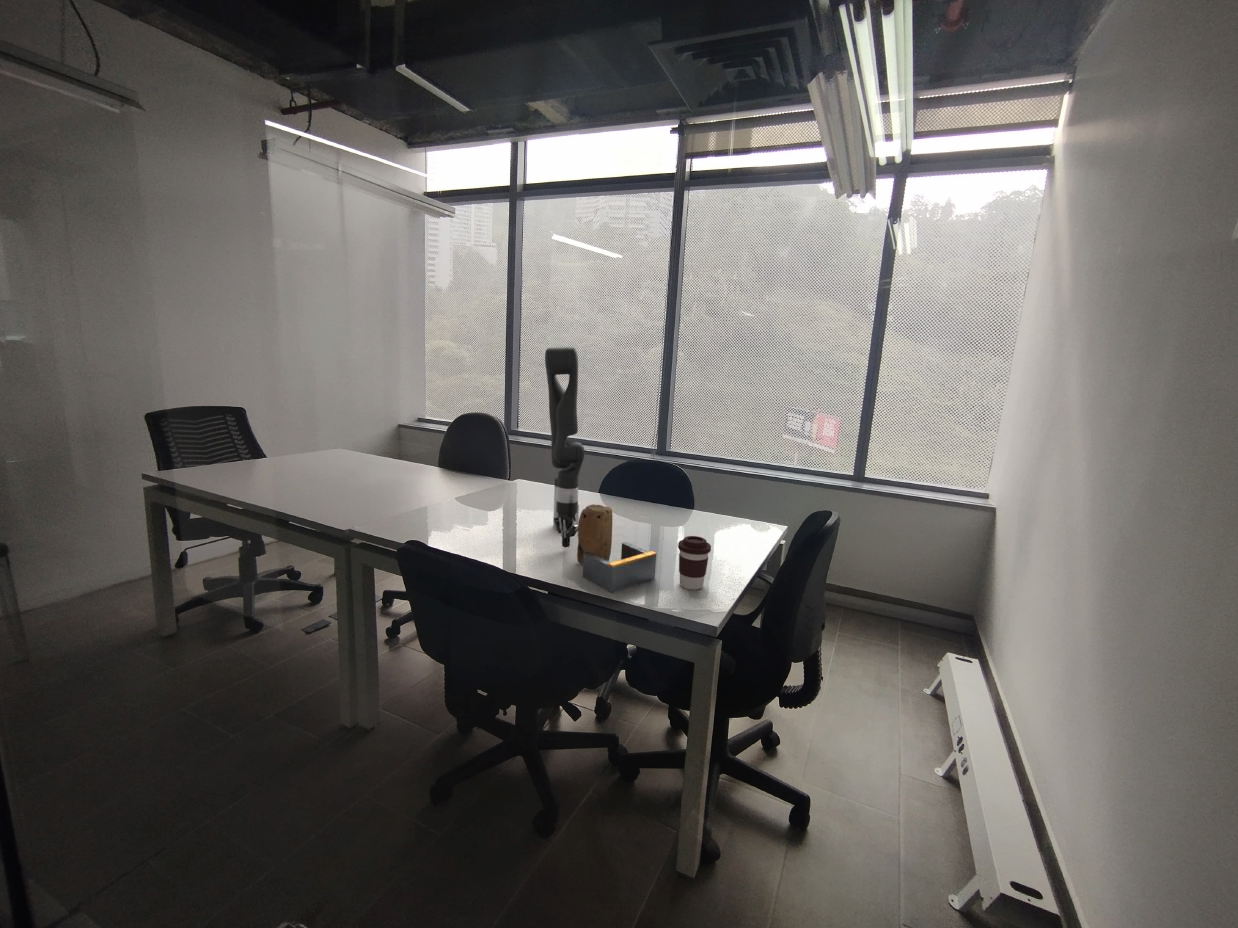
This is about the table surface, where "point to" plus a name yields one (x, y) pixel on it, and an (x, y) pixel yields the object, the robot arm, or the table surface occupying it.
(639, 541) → the table surface
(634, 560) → the dock
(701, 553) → the coffee cup
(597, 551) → the block
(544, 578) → the table surface
